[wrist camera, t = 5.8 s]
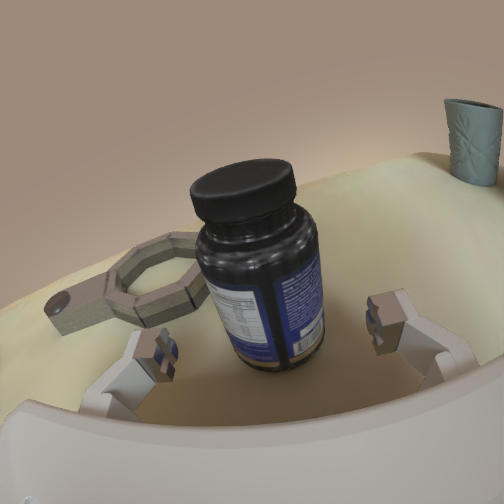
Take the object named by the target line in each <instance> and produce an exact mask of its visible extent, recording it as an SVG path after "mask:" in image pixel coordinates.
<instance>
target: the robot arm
mask: <svg viewBox="0 0 504 504" xmlns="http://www.w3.org/2000/svg"><path fill="white" fill-rule="evenodd" d="M367 305H368V308H369V309H368V310H367V311H366V325H367V329H368V332H369V334H370V335H371V336H373V342H372V343H373V346H374V349H375V352H376V355H377V356H378V355H383V354H387V353H391V352H395V351H397V353H398V354H399V355H400V356H402V357H403V358H404V359H405V360H406V361H407V362H409V363H410V364H411V365H412V366H413V367H414V368H416V369H417V370H418V371H419V372H420V373H422V374H423V375H424V376H425V378H424V380H423V382H422V384H421V386H420V388H419V389H418V391H419V392H416V393H413V394H410V395H407V396H404V397H401V398H398V399H395V400H391V401H388V402H384V403H381V404H377V405H373V406H369V407H365V408H361V409H357V410H353V411H348V412H344V413H339V414H334V415H328V416H323V417H317V418H311V419H304V420H297V421H289V422H281V423H271V424H259V425H244V426H175V425H160V424H149V423H141V420H140V418H138V417H137V416H136V415H135V414H133V412H134V411H135V410H136V408H137V407H138V406H139V405H140V403H141V402H142V401H143V399H144V398H145V397H146V395H147V394H148V393H149V392H150V390H151V389H152V388H153V386H154V385H155V384H156V383H155V382H173V378H174V373H175V368H174V366H173V365H174V364H175V362H176V361H177V359H178V348H177V345H176V343H175V341H174V340H173V339H171V338H169V334H170V333H169V332H168V330H167V329H166V328H150V329H134V330H133V331H132V332H131V335H130V338H129V340H128V343H127V346H126V348H125V351H124V354H123V357H122V358H119V359H118V360H117V361H116V362H115V363H114V364H113V365H112V366H111V367H110V368H109V369H107V370H106V371H105V372H104V373H103V374H102V375H101V376H100V377H99V378H98V379H97V380H96V381H95V382H94V383H93V384H92V385H91V386H90V387H88V388H87V389H86V392H85V394H84V397H83V400H82V403H81V406H80V409H79V412H74V411H70V410H66V409H62V408H58V407H55V406H51V405H47V404H44V403H41V402H38V401H34V400H31V399H27V400H25V401H24V402H22V403H21V404H19V405H18V406H17V407H16V408H15V409H14V410H13V411H11V412H10V413H9V414H8V415H7V417H6V418H5V420H4V422H3V424H2V426H1V428H0V504H504V354H502V355H500V356H499V357H497V358H495V359H493V360H491V361H489V362H487V363H485V364H483V365H481V366H479V364H478V362H477V360H476V358H475V356H474V354H473V352H472V350H471V348H470V346H469V344H468V343H467V341H465V340H463V339H462V338H460V337H458V336H457V335H455V334H453V333H452V332H450V331H448V330H447V329H445V328H443V327H441V326H440V325H438V324H436V323H435V322H433V321H431V320H430V319H428V318H426V317H424V316H422V317H420V315H419V313H418V312H417V310H416V308H415V306H414V304H413V303H412V301H411V299H410V297H409V296H408V294H407V292H406V291H405V289H403V288H402V289H398V290H394V291H390V292H386V293H382V294H378V295H373V296H369V297H368V299H367Z"/></svg>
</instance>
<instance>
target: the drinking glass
mask: <svg viewBox="0 0 504 504" xmlns="http://www.w3.org/2000/svg"><path fill="white" fill-rule="evenodd" d="M444 104H445V110H446V116H447V124H448V128H449V131H450V133H449V143H450V150H451V153H450V155H451V157H450V162H451V173H452V175H453V176H455V177H456V178H458V179H459V180H462V181H464V182H467V183H470V184H473V185H478V186H492V185H494V184H495V183H496V179H497V172H498V165H499V161H498V160H499V156H500V145H501V143H500V142H501V136H502V124H503V109H501V108H498V107H495V106H492V105H488V104H484V103H479V102H474V101H468V100H460V99H459V100H458V99H445V100H444Z"/></svg>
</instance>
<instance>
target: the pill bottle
mask: <svg viewBox="0 0 504 504" xmlns="http://www.w3.org/2000/svg"><path fill="white" fill-rule="evenodd" d="M296 191H297V187H296V183H295V178H294V173H293V169H292V166H291V164H290V163H289V162H286V161H284V160H280V159H254V160H248V161H243V162H238V163H234V164H231V165H227V166H224V167H221V168H218V169H216V170H214V171H211V172H210V173H207V174H206V175H204V176H202V177H200V178H199V179H197V180H196V181H195V182H194V183H193V184H192V186H191V188H190V196H191V199H192V202H193V206H194V208H195V212H196V214H197V216H198V217H199V218H200V219H201V220H202V221H204V222H205V225H204V226H203V227H202V228H201V230H200V232H199V234H198V237H197V239H196V244H195V254H196V259H197V262H198V264H199V266H200V269H201V271H202V274H203V276H204V279H205V281H206V284H207V286H208V289H209V291H210V293H211V296H212V298H213V301H214V303H215V305H216V308H217V310H218V313H219V315H220V318H221V320H222V322H223V324H224V327H225V329H226V331H227V334H228V336H229V338H230V340H231V343H232V345H233V347H234V350H235V352H236V353H237V355H238V356H239V358H240V359H241V360H242V361H244V362H245V363H246V364H248V365H249V366H251V367H253V368H256V369H258V370H263V371H280V370H287V369H290V368H293V367H296V366H298V365H300V364H302V363H304V362H305V361H306V360H308V359H309V358H310V357H312V356H313V355H314V354H315V352H316V351H317V350H318V348H319V346H320V345H321V343H322V342H323V338H324V333H325V325H324V322H325V321H324V307H323V290H322V278H321V265H320V254H319V244H318V232H317V228H316V224H315V222H314V220H313V218H312V216H311V215H310V214H309V213H308V212H307V210H306V209H304V208H303V207H301V206H299V205H298V204H296V203H294V199H295V196H296V195H297V194H296Z"/></svg>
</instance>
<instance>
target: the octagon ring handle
mask: <svg viewBox="0 0 504 504" xmlns="http://www.w3.org/2000/svg"><path fill="white" fill-rule="evenodd" d="M198 234H199V233H198V232H172V233H171V232H169V233H167V234H164V235H162V236H159V237H157V238H154V239H152V240H149V241H147V242H144V243H142V244H139V245H137V246H136V247H133V248H132V249H131V250H130V251H129V252H128V253H126V254H125V255H124V256H123V257H122V258H121V259H120V260H119V261H118V262H116V263H115V264H114V265H113V266H112V267H111V268H110V269H109V270H108V271H107V272H104V273H102V274H100V275H97V276H95V277H92V278H90V279H88V280H85V281H83V282H81V283H78V284H76V285H74V286H71V287H69V288H67V289H64V290H62V291H60V292H58V293H57V294H55V295H54V296H52V297H51V298H50V299H49V300H48V302H47V303H46V305H45V307H44V312H45V313H46V315H47V316H48V317H49V319H50V321H51V322H52V323H53V325H54V326H55V327H56V328H57V330H58V331H59V332H60V334H61V335H62V336H64V335H67V334H70V333H72V332H75V331H78V330H80V329H83V328H86V327H88V326H91V325H94V324H97V323H99V322H102V321H105V320H107V319H110V318H113V317H115V316H116V317H117V318H119V319H122V320H124V321H127V322H129V323H132V324H134V325H137V326H140V327H142V328H145V329H146V328H148V329H149V328H151V327H154V326H157V325H159V324H162V323H165V322H167V321H170V320H173V319H175V318H178V317H181V316H183V315H186V314H189V313H191V312H194V311H195V309H198V308H199V307H200V305H201V304H202V303H203V301H204V300H205V299H206V297H207V296H208V295H209V293H210V291H209V289H208V286H207V284H206V281H205V279H204V276H203V274H202V271H201V269H200V266H199V264H198V262H197V261H196V262H195V263H194V264H193V265H192V267H191V268H190V269H189V270H188V271H187V272H186V273H185V274H184V276H183V277H182V278H181V279H180V280H179V281H178V282H176V283H173V284H171V285H168V286H165V287H163V288H160V289H158V290H155V291H152V292H150V293H147V294H145V295H142V296H139V297H137V296H134V295H130V294H127V288H128V287H129V286H130V285H131V284H132V283H133V282H134V281H135V279H136V278H137V277H138V276H139V275H140V274H141V273H142V272H143V271H145V270H146V269H147V268H148V267H151V266H153V265H156V264H158V263H161V262H163V261H166V260H169V259H171V258H174V257H185V258H195V259H196V254H195V244H196V239H197V237H198Z"/></svg>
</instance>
